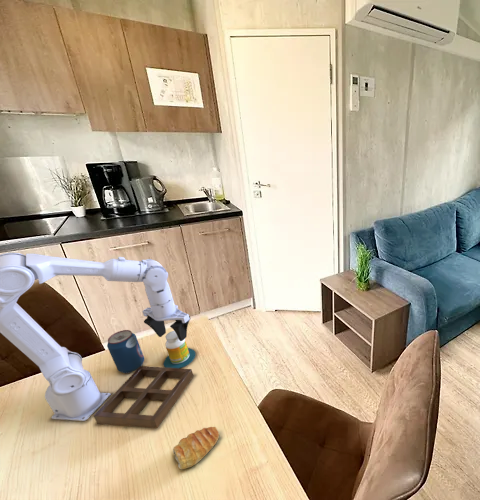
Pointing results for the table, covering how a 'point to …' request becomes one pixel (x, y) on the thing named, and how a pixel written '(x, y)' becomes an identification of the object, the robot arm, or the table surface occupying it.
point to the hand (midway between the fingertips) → (172, 336)
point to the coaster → (191, 357)
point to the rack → (144, 397)
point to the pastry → (195, 446)
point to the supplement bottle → (176, 348)
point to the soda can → (125, 351)
